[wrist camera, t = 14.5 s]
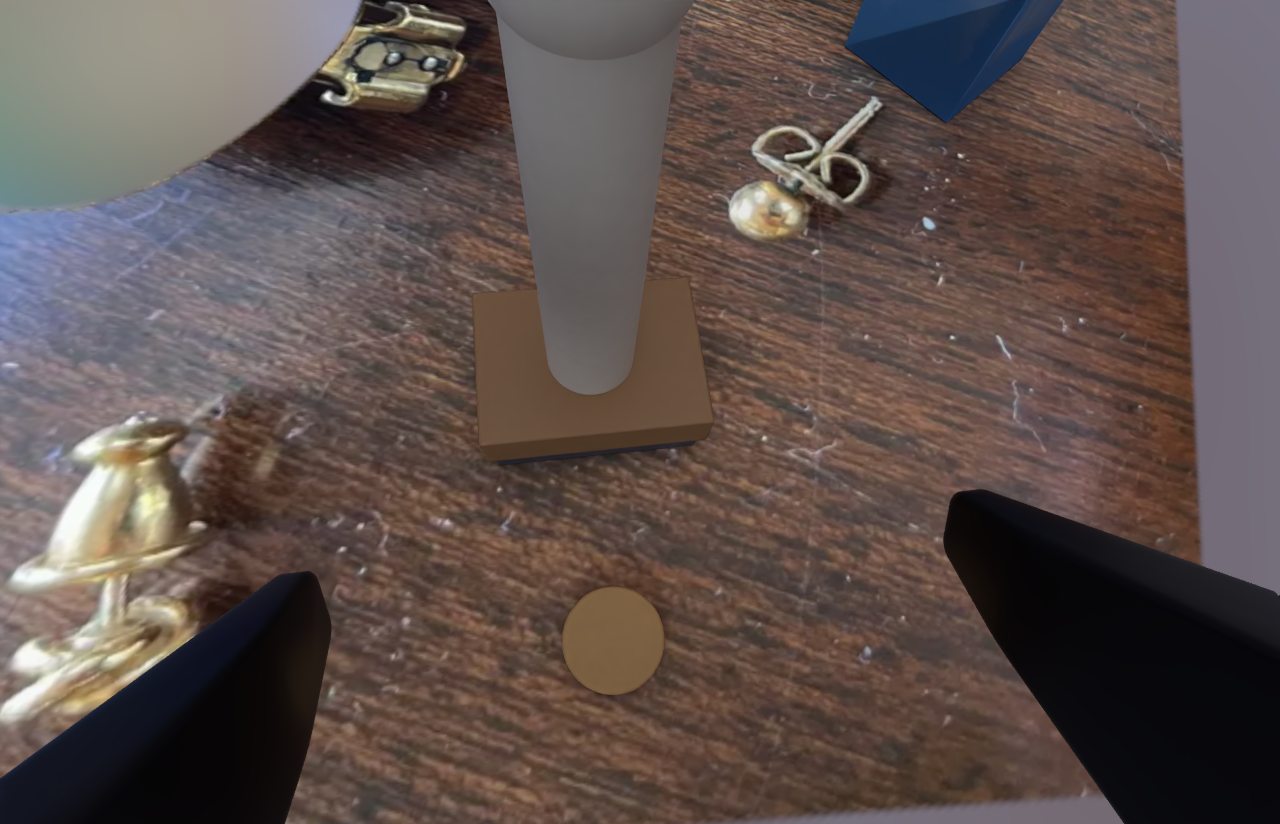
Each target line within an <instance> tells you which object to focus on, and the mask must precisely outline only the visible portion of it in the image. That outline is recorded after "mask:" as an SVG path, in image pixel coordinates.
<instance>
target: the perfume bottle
mask: <svg viewBox="0 0 1280 824" xmlns="http://www.w3.org/2000/svg"><path fill="white" fill-rule="evenodd" d="M1062 1H1063V0H864V1H863V3H862V6H861V8H860V11H859V13H858V15H857V18H856V20H855V23H854V25H853V28H852V30H851V32H850V35H849V37H848V40H847V42H846V44H845V46H846V47H847V48H848V49H849V50H851V51H852V52H853V53H855V54H856V55H857V56H859V57H860V58H861V59H863V60H864V61H865V62H867V63H868V64H869V65H871V66H872V67H873V68H875V69H876V70H877V71H879V72H880V73H881V74H883V75H884V76H885V77H886V78H888V79H889V80H890V81H892V82H893V83H894V84H896V85H897V86H898V87H900V88H901V89H902V90H904V91H905V92H906V93H908V94H909V95H910V96H912V97H913V98H914V99H916V100H917V101H918V102H920V103H921V104H922V105H923V106H925V107H926V108H927V109H929V110H930V111H931V112H933V113H934V114H935V115H937V116H938V117H939V118H941V119H942V120H943V121H945V122H946V123H947V122H948V121H949V120H951V119H952V118H953V117H954V116H955V115H956V114H958V113H959V112H960V111H961V110H962V109H963V108H965V107H966V106H967V105H968V104H969V103H971V102H972V101H973V100H974V99H975V98H976V97H978V96H979V95H980V94H981V93H982V92H983V91H985V90H986V89H987V88H988V87H989V86H991V85H992V84H993V83H994V82H995V81H996V80H998V79H999V78H1000V77H1001V76H1002V75H1003V74H1005V73H1006V72H1007V71H1008V70H1009V69H1011V68H1012V67H1013V66H1014V65H1015V64H1016V63H1018V62H1019V61H1020V60H1021V58H1022V57H1023V56H1024V54H1025V53H1026V52H1027V50H1028V49H1029V47H1030V46H1031V45H1032V43H1033V42H1034V40H1035V39H1036V38H1037V36H1038V35H1039V33H1040V32H1041V31H1042V29H1043V28H1044V26H1045V25H1046V24H1047V22H1048V21H1049V19H1050V18H1051V17H1052V15H1053V14H1054V12H1055V11H1056V10H1057V8H1058V7H1059V5H1060V4H1061V3H1062Z"/></svg>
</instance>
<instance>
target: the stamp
mask: <svg viewBox="0 0 1280 824" xmlns="http://www.w3.org/2000/svg"><path fill="white" fill-rule="evenodd" d="M488 1H489V3H490V4H491V5H492V7H493V8H494V9H495V11H496V15H497V22H498V28H499V35H500V42H501V49H502V56H503V62H504V69H505V76H506V83H507V90H508V96H509V103H510V110H511V117H512V124H513V130H514V137H515V144H516V151H517V157H518V164H519V171H520V178H521V185H522V191H523V198H524V205H525V212H526V219H527V225H528V232H529V239H530V246H531V253H532V259H533V266H534V273H535V280H536V287H537V289H526V290H512V291H499V292H485V293H474V294H473V295H472V307H473V329H474V352H475V374H476V396H477V418H478V440H479V446H480V447H481V449H482V451H483V453H484V455H485V457H486V459H487V461H497V463H498V465H507V464H517V463H527V462H536V461H546V460H556V459H565V458H575V457H585V456H594V455H604V454H614V453H623V452H633V451H643V450H652V449H662V448H672V447H681V446H691V445H694V443H695V441H696V440H704V439H706V437H707V435H708V433H709V431H710V429H711V427H712V426H713V424H714V421H715V420H714V415H713V409H712V403H711V398H710V392H709V387H708V381H707V376H706V370H705V365H704V359H703V354H702V348H701V342H700V337H699V331H698V326H697V320H696V315H695V309H694V304H693V298H692V293H691V287H690V281H689V279H688V278H674V279H661V280H647V281H645V274H646V267H647V260H648V253H649V246H650V239H651V232H652V225H653V218H654V211H655V204H656V197H657V190H658V183H659V176H660V169H661V161H662V154H663V147H664V140H665V133H666V126H667V119H668V112H669V105H670V98H671V91H672V84H673V77H674V70H675V63H676V56H677V49H678V41H679V34H680V27H681V20H682V18H683V17H684V16H685V15H686V13H687V12H688V10H689V9H690V7H691V6H692V4H693V2H694V1H695V0H488Z"/></svg>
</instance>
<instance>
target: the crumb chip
mask: <svg viewBox="0 0 1280 824" xmlns="http://www.w3.org/2000/svg"><path fill="white" fill-rule="evenodd" d="M664 645H665V636H664V629H663V624H662V621H661V619H660V616H659V614H658V612H657V611H656V609H655V608H654V606H653V605H652V604H651V603H650V602H649V600H647V599H646V598H645V597H644V596H643V595H641V594H640V593H638V592H636V591H634V590H632V589H629V588H625V587H620V586H609V587H603V588H599V589H596V590H594V591H592V592H590V593H588V594H587V595H585V596H584V597H582V598H581V599H580V600H579V601H578V602H577V603H576V604H575V606H574V607H573V608H572V610H571V611H570V613H569V615H568V617H567V619H566V621H565V624H564V628H563V633H562V649H563V655H564V658H565V661H566V663H567V666H568V668H569V669H570V671H571V673H572V674H573V675H574V677H575V678H576V679H577V680H578V681H579V682H580V683H581V684H582V685H584V686H585V687H587V688H588V689H590V690H592V691H595V692H598V693H601V694H606V695H619V694H624V693H628V692H631V691H633V690H635V689H637V688H639V687H640V686H642V685H643V684H644V683H645V682H647V681H648V680H649V679H650V678H651V676H652V675H653V674H654V672H655V671H656V669H657V668H658V666H659V664H660V661H661V659H662V655H663V652H664Z"/></svg>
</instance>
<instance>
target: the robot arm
mask: <svg viewBox="0 0 1280 824" xmlns="http://www.w3.org/2000/svg"><path fill="white" fill-rule="evenodd" d="M943 542H944V549H945V552H946V554H947V557H948V558H949V560H950V562H951V564H952V565H953V567H954V569H955V571H956V572H957V574H958V576H959V578H960V580H961V581H962V583H963V585H964V587H965V588H966V590H967V592H968V594H969V595H970V597H971V599H972V601H973V602H974V604H975V606H976V608H977V609H978V611H979V613H980V615H981V617H982V618H983V620H984V622H985V624H986V625H987V627H988V629H989V630H990V632H991V634H992V635H993V637H994V639H995V640H996V642H997V644H998V645H999V647H1000V648H1001V650H1002V651H1003V653H1004V654H1005V655H1006V657H1007V658H1008V660H1009V661H1010V663H1011V664H1012V666H1013V667H1014V668H1015V670H1016V671H1017V673H1018V674H1019V675H1020V677H1021V678H1022V680H1023V681H1024V683H1025V684H1026V685H1027V687H1028V688H1029V690H1030V691H1031V692H1032V694H1033V695H1034V697H1035V698H1036V700H1037V701H1038V702H1039V704H1040V705H1041V707H1042V708H1043V709H1044V711H1045V712H1046V714H1047V715H1048V716H1049V718H1050V719H1051V721H1052V722H1053V724H1054V725H1055V726H1056V728H1057V729H1058V731H1059V732H1060V733H1061V735H1062V736H1063V738H1064V739H1065V741H1066V742H1067V743H1068V745H1069V746H1070V748H1071V749H1072V750H1073V752H1074V753H1075V755H1076V756H1077V758H1078V759H1079V760H1080V762H1081V763H1082V765H1083V766H1084V767H1085V769H1086V770H1087V772H1088V773H1089V775H1090V776H1091V777H1092V779H1093V780H1094V782H1095V783H1096V784H1097V786H1098V787H1099V789H1100V790H1101V792H1102V793H1103V794H1104V796H1105V797H1106V799H1107V800H1108V801H1109V803H1110V804H1111V806H1112V807H1113V808H1114V810H1115V811H1116V813H1117V814H1118V816H1119V817H1120V818H1121V820H1122V821H1123V823H1124V824H1280V595H1279V596H1278V595H1277V594H1276V593H1275V592H1274V591H1271V590H1269V589H1266V588H1263V587H1260V586H1257V585H1254V584H1252V583H1249V582H1246V581H1243V580H1240V579H1237V578H1234V577H1231V576H1229V575H1226V574H1223V573H1220V572H1217V571H1214V570H1212V569H1209V568H1206V567H1203V566H1200V565H1198V564H1195V563H1192V562H1189V561H1186V560H1183V559H1181V558H1178V557H1175V556H1172V555H1169V554H1166V553H1163V552H1161V551H1158V550H1155V549H1152V548H1149V547H1146V546H1144V545H1141V544H1138V543H1135V542H1132V541H1129V540H1127V539H1124V538H1121V537H1118V536H1115V535H1112V534H1109V533H1107V532H1104V531H1101V530H1098V529H1095V528H1092V527H1090V526H1087V525H1084V524H1081V523H1078V522H1075V521H1073V520H1070V519H1067V518H1064V517H1061V516H1058V515H1055V514H1053V513H1050V512H1047V511H1044V510H1041V509H1038V508H1036V507H1033V506H1030V505H1027V504H1024V503H1021V502H1019V501H1016V500H1013V499H1010V498H1007V497H1004V496H1001V495H999V494H996V493H993V492H990V491H987V490H983V489H977V490H969V491H961V492H957V493H956V494H954V495H953V497H952V498H951V501H950V505H949V510H948V516H947V521H946V526H945V532H944V538H943ZM330 639H331V619H330V616H329V613H328V609H327V606H326V603H325V600H324V597H323V594H322V591H321V587H320V584H319V581H318V579H317V577H316V576H315V574H314V573H312V572H310V571H304V572H296V573H287V574H281V575H278V576H277V577H275V578H274V579H272V580H271V581H270V582H268V583H267V584H265V585H264V586H263V587H261V588H260V589H259V590H257V591H256V592H255V593H253V594H252V595H250V596H249V597H248V598H246V599H245V600H244V601H242V602H241V603H240V604H238V605H237V606H235V607H234V608H233V609H231V610H230V611H229V612H227V613H226V614H224V615H223V616H222V617H220V618H219V619H218V620H216V621H215V622H214V623H212V624H211V625H209V626H208V627H207V628H205V629H204V630H203V631H201V632H200V633H198V634H197V635H196V636H194V637H193V638H192V639H190V640H189V641H188V642H186V643H185V644H183V645H182V646H181V647H179V648H178V649H177V650H175V651H174V652H172V653H171V654H170V655H168V656H167V657H166V658H164V659H163V660H162V661H160V662H159V663H157V664H156V665H155V666H153V667H152V668H151V669H149V670H148V671H147V672H145V673H144V674H142V675H141V676H140V677H138V678H137V679H136V680H134V681H133V682H131V683H130V684H129V685H127V686H126V687H125V688H123V689H122V690H121V691H119V692H118V693H116V694H115V695H114V696H112V697H111V698H110V699H108V700H107V701H105V702H104V703H103V704H101V705H100V706H99V707H97V708H96V709H95V710H93V711H92V712H90V713H89V714H88V715H86V716H85V717H84V718H82V719H81V720H79V721H78V722H77V723H75V724H74V725H73V726H71V727H70V728H69V729H67V730H66V731H64V732H63V733H62V734H60V735H59V736H58V737H56V738H55V739H53V740H52V741H51V742H49V743H48V744H47V745H45V746H44V747H43V748H41V749H40V750H38V751H37V752H36V753H34V754H33V755H32V756H30V757H29V758H28V759H26V760H25V761H23V762H22V763H21V764H19V765H18V766H17V767H15V768H14V769H12V770H11V771H10V772H8V773H7V774H6V775H4V776H3V777H2V778H0V824H285V821H286V818H287V815H288V812H289V809H290V806H291V803H292V799H293V796H294V793H295V790H296V787H297V784H298V781H299V777H300V774H301V771H302V768H303V765H304V761H305V758H306V754H307V751H308V747H309V743H310V739H311V734H312V730H313V725H314V720H315V715H316V710H317V705H318V700H319V695H320V690H321V685H322V680H323V675H324V670H325V665H326V659H327V654H328V649H329V644H330Z"/></svg>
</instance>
